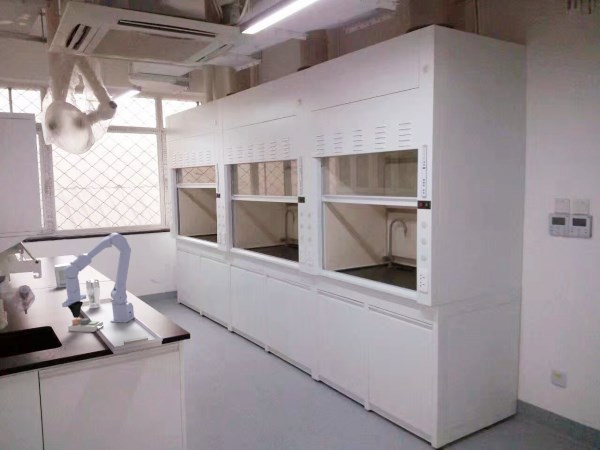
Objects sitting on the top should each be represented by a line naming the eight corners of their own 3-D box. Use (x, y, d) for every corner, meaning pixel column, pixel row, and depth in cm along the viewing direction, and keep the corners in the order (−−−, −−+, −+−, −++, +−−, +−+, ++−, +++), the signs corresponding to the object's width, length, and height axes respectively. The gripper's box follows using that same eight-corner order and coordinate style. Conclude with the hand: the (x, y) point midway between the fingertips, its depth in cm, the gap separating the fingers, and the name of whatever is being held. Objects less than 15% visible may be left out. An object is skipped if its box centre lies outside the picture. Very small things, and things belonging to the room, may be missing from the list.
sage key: (98, 326, 229) (98, 321, 229) (94, 328, 226) (94, 323, 226) (93, 326, 230) (92, 321, 230) (89, 328, 227) (88, 323, 227)
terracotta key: (82, 323, 231) (81, 318, 231) (77, 325, 228) (77, 320, 228) (76, 322, 232) (76, 318, 232) (72, 325, 229) (72, 320, 229)
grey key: (90, 323, 230) (89, 318, 230) (86, 325, 227) (85, 320, 227) (84, 323, 231) (84, 318, 231) (80, 325, 228) (80, 320, 228)
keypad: (103, 326, 231) (102, 321, 231) (93, 331, 224) (93, 326, 224) (78, 326, 234) (77, 320, 234) (68, 331, 228) (67, 325, 227)
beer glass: (85, 308, 265) (82, 282, 263) (95, 304, 271) (92, 279, 269) (95, 309, 262) (92, 282, 261) (104, 305, 269) (101, 279, 267)
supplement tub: (75, 284, 327) (73, 263, 325) (66, 287, 318) (63, 266, 316) (63, 284, 329) (60, 263, 327) (53, 288, 320) (50, 266, 318)
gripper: (76, 285, 236) (79, 312, 238) (55, 293, 222) (58, 322, 224) (88, 286, 234) (91, 312, 236) (68, 294, 220) (71, 322, 222)
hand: (76, 317), depth 230 cm, fingers closed
